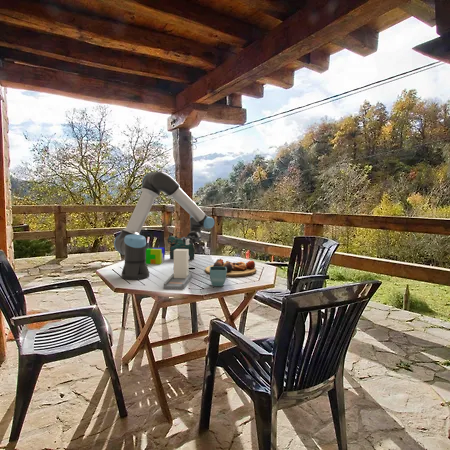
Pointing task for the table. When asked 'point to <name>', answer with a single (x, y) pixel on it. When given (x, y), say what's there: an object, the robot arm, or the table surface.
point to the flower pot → (218, 275)
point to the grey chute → (177, 282)
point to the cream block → (181, 263)
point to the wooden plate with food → (234, 268)
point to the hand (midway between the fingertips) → (186, 242)
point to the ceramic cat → (180, 246)
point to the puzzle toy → (155, 255)
